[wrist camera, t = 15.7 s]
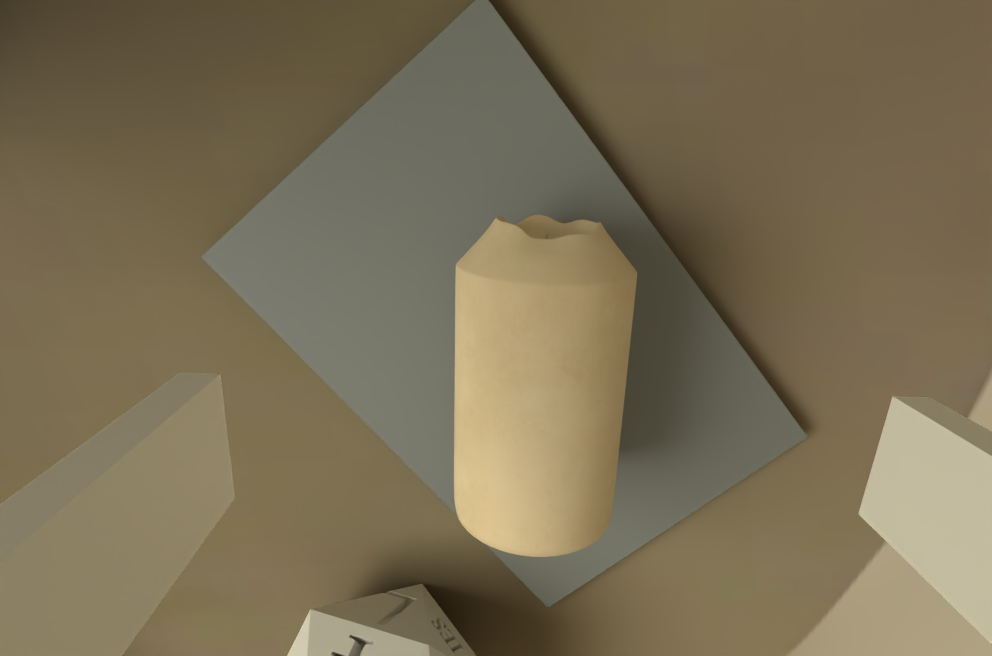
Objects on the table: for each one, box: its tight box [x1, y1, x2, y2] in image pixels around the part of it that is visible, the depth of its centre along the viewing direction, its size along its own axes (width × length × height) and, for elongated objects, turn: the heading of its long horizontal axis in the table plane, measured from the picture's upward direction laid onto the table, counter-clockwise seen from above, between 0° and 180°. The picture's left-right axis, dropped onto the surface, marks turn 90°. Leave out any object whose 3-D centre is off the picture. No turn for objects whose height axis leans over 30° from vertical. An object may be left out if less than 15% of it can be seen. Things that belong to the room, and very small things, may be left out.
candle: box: [454, 215, 637, 557], centre depth 18 cm, size 6×6×10 cm
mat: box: [201, 0, 807, 608], centre depth 21 cm, size 20×13×1 cm, turn 39°
